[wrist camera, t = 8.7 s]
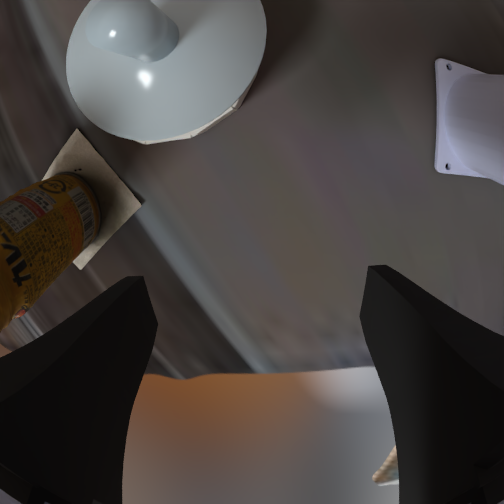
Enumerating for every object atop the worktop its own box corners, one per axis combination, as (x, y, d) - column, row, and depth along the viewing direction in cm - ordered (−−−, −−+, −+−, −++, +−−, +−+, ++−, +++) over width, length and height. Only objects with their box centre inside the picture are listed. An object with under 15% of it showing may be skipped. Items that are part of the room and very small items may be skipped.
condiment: (27, 205, 18) (-76, 284, 7) (78, 127, 15) (-69, 180, 5) (82, 268, 21) (0, 377, 10) (143, 203, 18) (34, 324, 7)
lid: (266, -44, 8) (268, -95, 4) (265, 135, 13) (268, 148, 8) (81, -11, 8) (31, -33, 4) (77, 149, 13) (19, 171, 9)
